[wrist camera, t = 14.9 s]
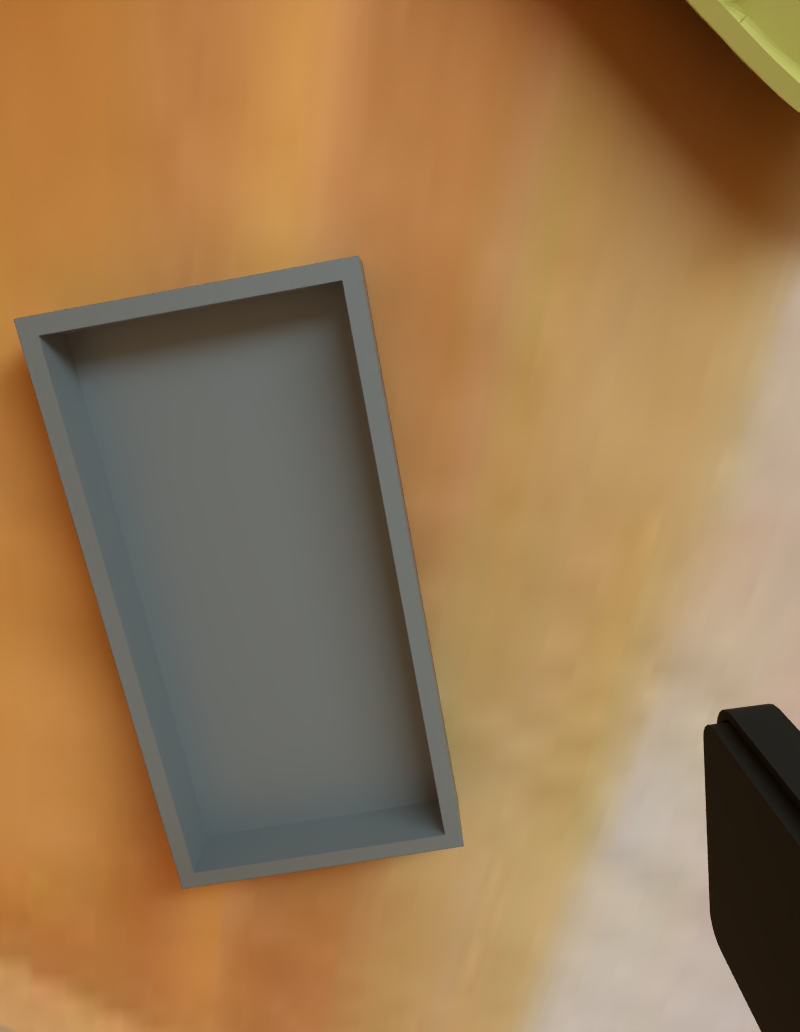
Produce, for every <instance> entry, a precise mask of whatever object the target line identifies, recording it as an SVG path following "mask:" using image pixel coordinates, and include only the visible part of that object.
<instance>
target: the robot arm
mask: <svg viewBox="0 0 800 1032" xmlns="http://www.w3.org/2000/svg"><path fill="white" fill-rule="evenodd" d="M704 765H705V792H706V818H707V845H708V872H709V899H710V916H711V922H712V926H713V930H714V934H715V937H716V940H717V943H718V945H719V947H720V950H721V952H722V954H723V956H724V958H725V960H726V962H727V964H728V966H729V968H730V970H731V972H732V974H733V976H734V978H735V980H736V982H737V984H738V986H739V988H740V990H741V992H742V994H743V996H744V998H745V1000H746V1002H747V1004H748V1006H749V1008H750V1010H751V1012H752V1014H753V1016H754V1018H755V1020H756V1022H757V1024H758V1026H759V1028H760V1030H761V1032H800V731H799V730H798V729H797V728H796V727H795V726H794V724H793V723H792V722H791V721H790V720H789V719H788V718H787V717H786V716H785V715H784V714H783V713H782V712H781V710H780V709H779V708H777V707H776V706H775V705H773V704H764V705H756V706H749V707H741V708H733V709H726V710H722V711H721V712H720V713H719V715H718V719H717V724H712V725H707V726H706V727H705V729H704Z"/></svg>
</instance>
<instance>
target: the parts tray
mask: <svg viewBox="0 0 800 1032" xmlns="http://www.w3.org/2000/svg"><path fill="white" fill-rule="evenodd" d="M14 322H15V326H16V329H17V333H18V336H19V339H20V343H21V346H22V349H23V353H24V356H25V360H26V363H27V366H28V370H29V373H30V376H31V380H32V383H33V387H34V390H35V393H36V397H37V400H38V403H39V407H40V410H41V414H42V417H43V420H44V424H45V427H46V430H47V434H48V437H49V441H50V444H51V447H52V451H53V454H54V457H55V461H56V464H57V468H58V471H59V474H60V478H61V481H62V484H63V488H64V491H65V495H66V498H67V501H68V505H69V508H70V511H71V515H72V518H73V522H74V525H75V528H76V532H77V535H78V538H79V542H80V545H81V549H82V552H83V555H84V559H85V562H86V565H87V569H88V572H89V576H90V579H91V582H92V586H93V589H94V593H95V596H96V599H97V603H98V606H99V609H100V613H101V616H102V620H103V623H104V626H105V630H106V633H107V636H108V640H109V643H110V647H111V650H112V653H113V657H114V660H115V663H116V667H117V670H118V674H119V677H120V680H121V684H122V687H123V690H124V694H125V697H126V701H127V704H128V707H129V711H130V714H131V717H132V721H133V724H134V728H135V731H136V734H137V738H138V741H139V744H140V748H141V751H142V755H143V758H144V761H145V765H146V768H147V771H148V775H149V778H150V782H151V785H152V788H153V792H154V795H155V798H156V802H157V805H158V809H159V812H160V815H161V819H162V822H163V825H164V829H165V832H166V836H167V839H168V842H169V846H170V849H171V852H172V856H173V859H174V863H175V866H176V869H177V873H178V876H179V879H180V883H181V886H182V889H186V888H192V887H199V886H206V885H212V884H219V883H225V882H232V881H239V880H245V879H252V878H258V877H265V876H271V875H278V874H285V873H291V872H298V871H304V870H311V869H318V868H324V867H331V866H337V865H344V864H350V863H357V862H364V861H370V860H377V859H383V858H390V857H396V856H403V855H410V854H416V853H423V852H429V851H436V850H443V849H449V848H456V847H462V846H464V844H463V836H462V828H461V820H460V813H459V805H458V799H457V793H456V787H455V782H454V776H453V770H452V765H451V759H450V754H449V748H448V742H447V737H446V731H445V725H444V720H443V714H442V709H441V703H440V697H439V692H438V686H437V680H436V675H435V669H434V664H433V658H432V652H431V647H430V641H429V636H428V630H427V624H426V619H425V613H424V607H423V602H422V596H421V591H420V585H419V579H418V574H417V568H416V562H415V557H414V551H413V546H412V540H411V534H410V529H409V523H408V518H407V512H406V506H405V501H404V495H403V489H402V484H401V478H400V473H399V467H398V461H397V456H396V450H395V444H394V439H393V433H392V428H391V422H390V416H389V411H388V405H387V400H386V394H385V388H384V383H383V377H382V371H381V366H380V360H379V355H378V349H377V343H376V338H375V332H374V326H373V321H372V315H371V310H370V304H369V298H368V293H367V287H366V282H365V276H364V270H363V265H362V261H361V259H360V258H359V256H354V257H349V258H343V259H338V260H332V261H327V262H321V263H316V264H311V265H305V266H300V267H294V268H289V269H283V270H278V271H272V272H267V273H262V274H256V275H251V276H245V277H240V278H234V279H229V280H223V281H218V282H213V283H207V284H202V285H196V286H191V287H185V288H180V289H174V290H169V291H164V292H158V293H153V294H147V295H142V296H136V297H131V298H126V299H120V300H115V301H109V302H104V303H98V304H93V305H87V306H82V307H77V308H71V309H66V310H60V311H55V312H49V313H44V314H38V315H33V316H28V317H22V318H17V319H14Z"/></svg>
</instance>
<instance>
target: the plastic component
mask: <svg viewBox="0 0 800 1032" xmlns="http://www.w3.org/2000/svg"><path fill="white" fill-rule="evenodd" d="M685 1H686V2H687V3H688V4H689V5H690V6H691V7H692V8H693V9H694V10H695V11H696V13H697V14H698V15H699V16H700V17H701V18H702V19H703V20H704V21H705V22H706V23H707V24H708V25H709V26H710V28H711V29H713V30H714V31H715V32H716V33H717V34H718V35H719V36H720V37H721V38H722V39H723V41H724V42H725V43H726V44H727V45H728V46H729V47H730V49H731V50H732V51H733V52H734V53H735V54H736V55H737V56H738V57H739V58H740V60H741V61H742V62H744V63H745V64H746V65H747V66H748V67H749V68H750V69H751V70H752V71H753V72H754V73H755V74H756V75H757V76H758V77H760V78H761V79H762V80H763V81H764V82H765V83H766V84H767V85H768V86H769V87H770V88H771V89H772V90H773V91H774V92H776V93H777V94H778V95H779V96H780V97H781V98H782V99H783V100H784V101H786V102H787V103H788V104H789V105H790V106H792V107H793V108H794V109H795V110H797V111H798V112H799V113H800V0H685Z"/></svg>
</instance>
